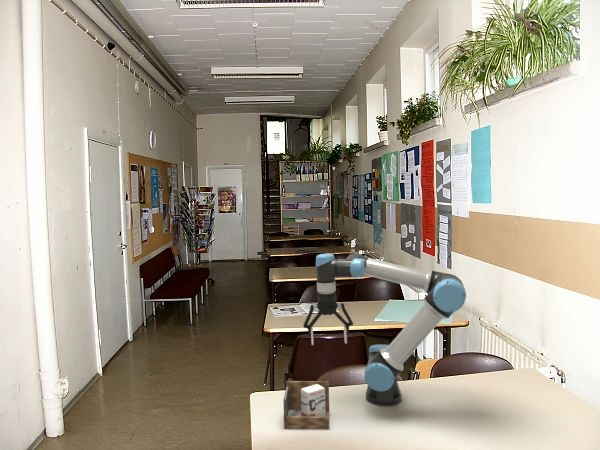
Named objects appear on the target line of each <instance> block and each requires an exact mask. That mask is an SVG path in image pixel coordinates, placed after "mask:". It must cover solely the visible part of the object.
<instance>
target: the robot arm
mask: <svg viewBox="0 0 600 450" xmlns="http://www.w3.org/2000/svg"><path fill="white" fill-rule="evenodd" d="M315 257H316V258H315V272H316V275H315V276H316V292H317V304H313V303H310V307H309V308H310V309H309V311H308V313H307V315H306V318H305V320H304V322H303V329H307V335H308V337H309V338H311V346H314V344H315V343H314V331H313V330H314V329H313V327H314V325H315V324H316V323H317V321H318V320H319V318H321V316H322V315H323V316H327V315H328V316H332V315H334V316H335V317H336V318H337V319H338V320H339V321H340V322H341V323H342V324H343V336H344V337H343V338H344V344H347V343H348V337H347V336H348V335H349V334H350V326H351V327H352V326H353V325H354V322H353V320H352V319H351V317H350V316H349V313H348V311H347V309H346V307H345V303H344V302H341V303H340V302H339V303H337V293H336V290H337V288H336V286H337V285H336V279H337V278H338V279H339V278H346V279H347V278H349V279H350V278H354V279H356V278H364V276H368V277H372V278H376V279H379V280H383V281H388V282H390V283H396V284H399V285H403V286H408V287H411V288H415V289H418V290H419V289H420V290H423V291H424V293H425V294H426V296H425V297H424V298H423V301H424V304H423V305H422V307H421V308H420V309H419V310H418V311H417V312H416V314H415V315H414V316H412V318H411V319H410V320H409V321H408V323H407V324H406V325H405V326H404V327H403V328H402V330H401V331H400V332H399V333H398V334H397V335H396V337H394V339H393V340H391V343H389V344H373V345H371V346H370V347H369V349H368V353H369V355H368V358H369V359H368V361H367V364H366V367H365V369H364V371H363V372H364V373H363V375H364V376H363V377H364V382H365V383H366V384H367V388H366V391H365V399H366V401H367V402H369V404H372V405H375V406H382V407H383V406H385V407H387V406H388V407H389V406H394V405H398V404H400V403H401V402H402V392H401V389H400V386H399V382H398V376H399V375H400V374H401V373H402V372H403V370H404V364H405V362H406V361H407V360H408V359H409V358H410V357H411V356H412V355H413V353H414V352H415V351H416V350H417V348H419V346H420V345H421V344H422V343H423V342H424V340H425V339H426V338H427V337H428V336H429V334H430V333H432V332H433V331H434V329H435V328H436V327H437V326H438V325H439V323H440V322H441V321H442V320H446V319H447V320H448V319H449V318H450V317H451V316H452V315H453V314H454V313H456V312H457V311H459V310H461V308H462V307H463V306H464V304H465V303H466V298H467V291H466V289H465V287H464V283H463V282H462V280H461V279H460V278H459V277H458V276H456V275H455V274H451V273H446V272H442V271H441V272H440V271H436V270H432V269H431V270H429V271H426V270H421V269H417V268H413V267H409V266H405V265H400V264H397V263H393V262H388V261H384V260H379V259H375V258H371V257H367V256H363V255H362V254H360V253H355V252H354V253H351V254H348V256H347V257H346V258H335V255H334V254H332V253H320V254H318V255H316V256H315ZM338 307H339V309H341V310H342V313H343V315H344V316H345V318H346V319H347V320H346V319H345V318H344V317H342V315H341V314H340V313H339V312H338V311H337V309H338ZM316 309H317V310H318V311H317V313H316V315H315V316H314V317H313V319H312V320H311V321H310V319H311V317H312V315H313V313H314V311H315V310H316ZM347 321H348V322H347ZM309 322H310V323H309Z"/></svg>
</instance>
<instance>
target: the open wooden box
mask: <svg viewBox="0 0 600 450" xmlns="http://www.w3.org/2000/svg"><path fill="white" fill-rule="evenodd" d="M285 383H286V387H285V391H284V395H283V429H284V430H329V429H330V381H329V380H326V381H325V380H320V381H319V380H317V381H316V380H314V381H313V380H309V381H308V380H286V381H285ZM315 384H319V385H320V386H322V387H324V388H325V417H316V416H302V413H301V389H302V388H305V387H308V386H312V385H315Z"/></svg>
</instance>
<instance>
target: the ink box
mask: <svg viewBox="0 0 600 450" xmlns="http://www.w3.org/2000/svg"><path fill="white" fill-rule="evenodd" d="M301 413H302V416H316V417H325V388H324V387H322V386H320V385H319V384H315V385H312V386H308V387H305V388H302V389H301Z"/></svg>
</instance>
